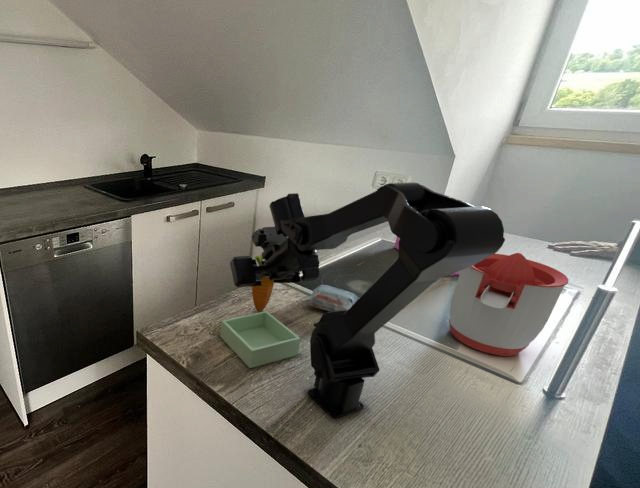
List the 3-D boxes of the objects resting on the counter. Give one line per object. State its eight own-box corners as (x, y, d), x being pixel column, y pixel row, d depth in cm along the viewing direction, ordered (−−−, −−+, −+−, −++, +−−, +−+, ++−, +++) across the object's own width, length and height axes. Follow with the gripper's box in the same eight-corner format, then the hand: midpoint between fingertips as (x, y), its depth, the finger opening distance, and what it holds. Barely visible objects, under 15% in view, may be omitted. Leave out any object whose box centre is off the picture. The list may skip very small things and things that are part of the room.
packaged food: (350, 325, 87) (355, 305, 85) (299, 307, 94) (302, 289, 92) (361, 310, 93) (366, 292, 91) (312, 295, 100) (315, 277, 98)
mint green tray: (297, 355, 77) (300, 338, 75) (249, 368, 73) (252, 351, 71) (264, 326, 86) (266, 310, 85) (220, 336, 82) (221, 320, 81)
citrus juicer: (425, 340, 82) (455, 252, 74) (451, 313, 92) (480, 233, 84) (521, 379, 71) (568, 281, 63) (539, 343, 81) (581, 255, 73)
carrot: (245, 314, 91) (252, 255, 85) (251, 305, 95) (257, 248, 89) (266, 320, 89) (274, 260, 83) (271, 310, 93) (279, 252, 87)
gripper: (321, 216, 80) (287, 247, 94) (237, 221, 77) (215, 252, 91) (337, 266, 76) (299, 290, 91) (249, 273, 73) (224, 297, 87)
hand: (259, 281), depth 90 cm, fingers closed on carrot, 5 cm apart
